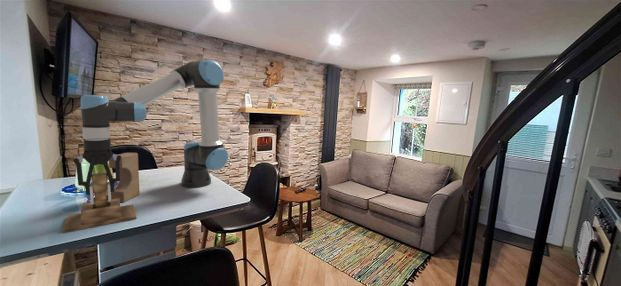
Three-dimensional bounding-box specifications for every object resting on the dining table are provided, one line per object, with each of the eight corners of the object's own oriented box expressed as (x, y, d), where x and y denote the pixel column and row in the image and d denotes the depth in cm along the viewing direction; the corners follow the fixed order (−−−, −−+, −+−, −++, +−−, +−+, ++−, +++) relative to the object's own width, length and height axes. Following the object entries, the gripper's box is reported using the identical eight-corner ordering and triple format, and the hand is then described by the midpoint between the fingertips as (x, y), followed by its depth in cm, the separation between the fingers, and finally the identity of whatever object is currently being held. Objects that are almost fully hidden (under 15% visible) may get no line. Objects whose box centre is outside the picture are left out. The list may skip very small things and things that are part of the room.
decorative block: (123, 202, 110) (120, 157, 108) (110, 202, 110) (107, 156, 108) (140, 194, 121) (138, 152, 119) (128, 193, 121) (126, 152, 119)
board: (133, 206, 107) (133, 195, 106) (136, 218, 96) (135, 206, 95) (68, 217, 95) (67, 204, 94) (62, 232, 84) (61, 218, 83)
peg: (109, 202, 98) (107, 172, 96) (109, 206, 94) (107, 175, 93) (94, 205, 95) (91, 173, 94) (93, 209, 92) (91, 176, 90)
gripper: (126, 137, 100) (129, 194, 103) (65, 138, 89) (70, 202, 92) (127, 139, 94) (130, 200, 97) (62, 141, 83) (67, 209, 86)
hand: (101, 201), depth 95 cm, fingers closed on peg, 4 cm apart
